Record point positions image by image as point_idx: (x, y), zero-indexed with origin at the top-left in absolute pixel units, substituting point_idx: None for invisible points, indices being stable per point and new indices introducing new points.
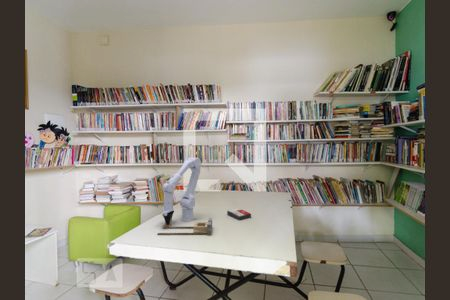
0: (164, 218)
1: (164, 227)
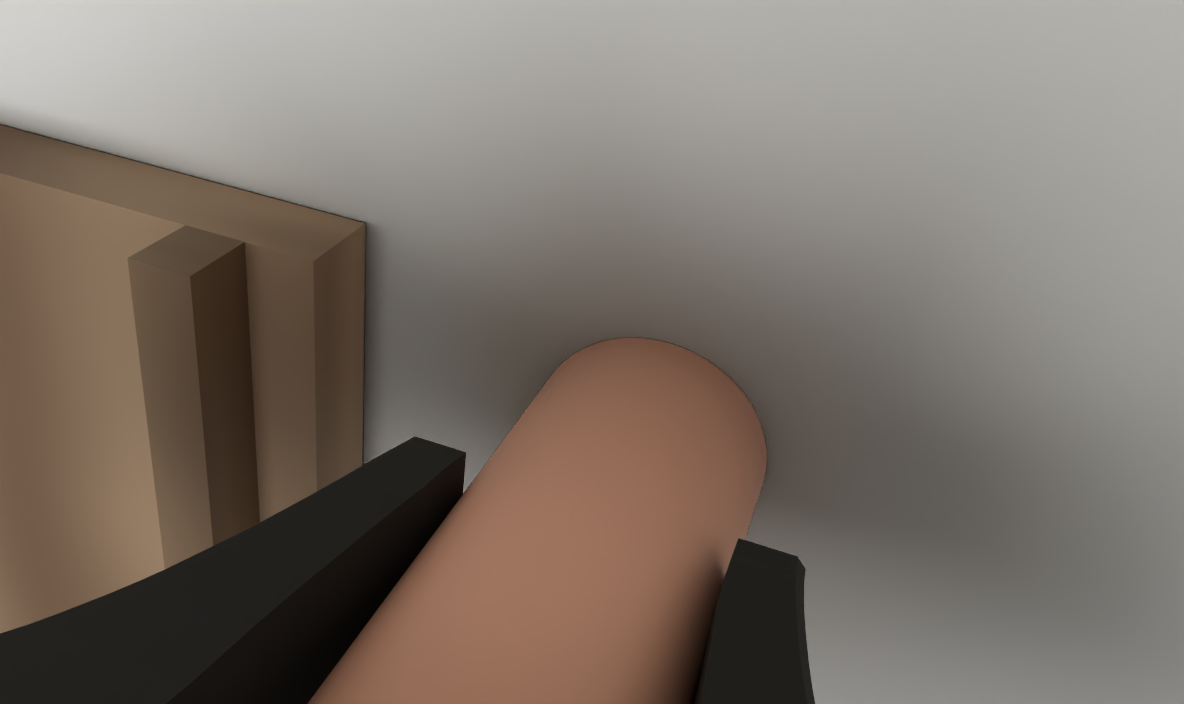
0: (15, 642)
1: (149, 340)
